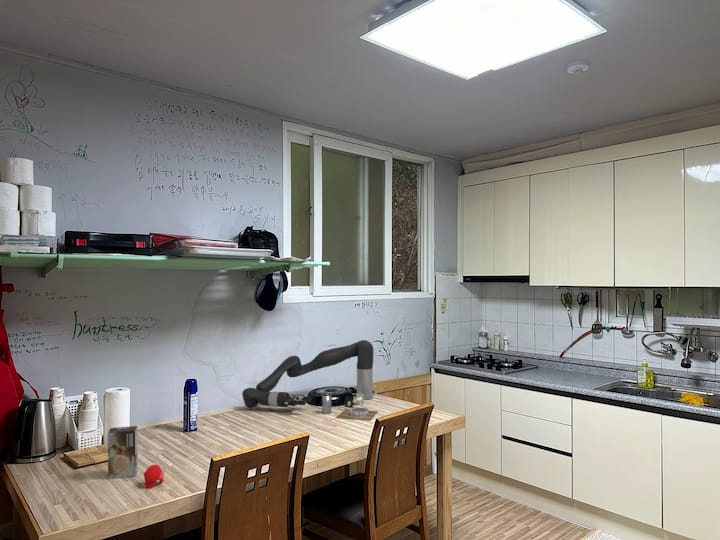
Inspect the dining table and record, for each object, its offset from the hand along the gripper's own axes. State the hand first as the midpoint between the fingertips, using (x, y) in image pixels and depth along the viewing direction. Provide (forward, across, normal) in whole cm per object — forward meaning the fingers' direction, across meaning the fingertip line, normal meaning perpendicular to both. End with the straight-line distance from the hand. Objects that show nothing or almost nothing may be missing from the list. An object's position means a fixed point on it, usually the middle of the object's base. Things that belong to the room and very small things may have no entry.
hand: (308, 400), depth 260 cm
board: (+26, 0, +6) cm, 27 cm away
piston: (+10, 0, +6) cm, 12 cm away
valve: (+20, +18, +7) cm, 28 cm away
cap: (-20, -98, +7) cm, 100 cm away
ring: (+27, 0, +6) cm, 28 cm away
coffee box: (-36, -93, +7) cm, 100 cm away
